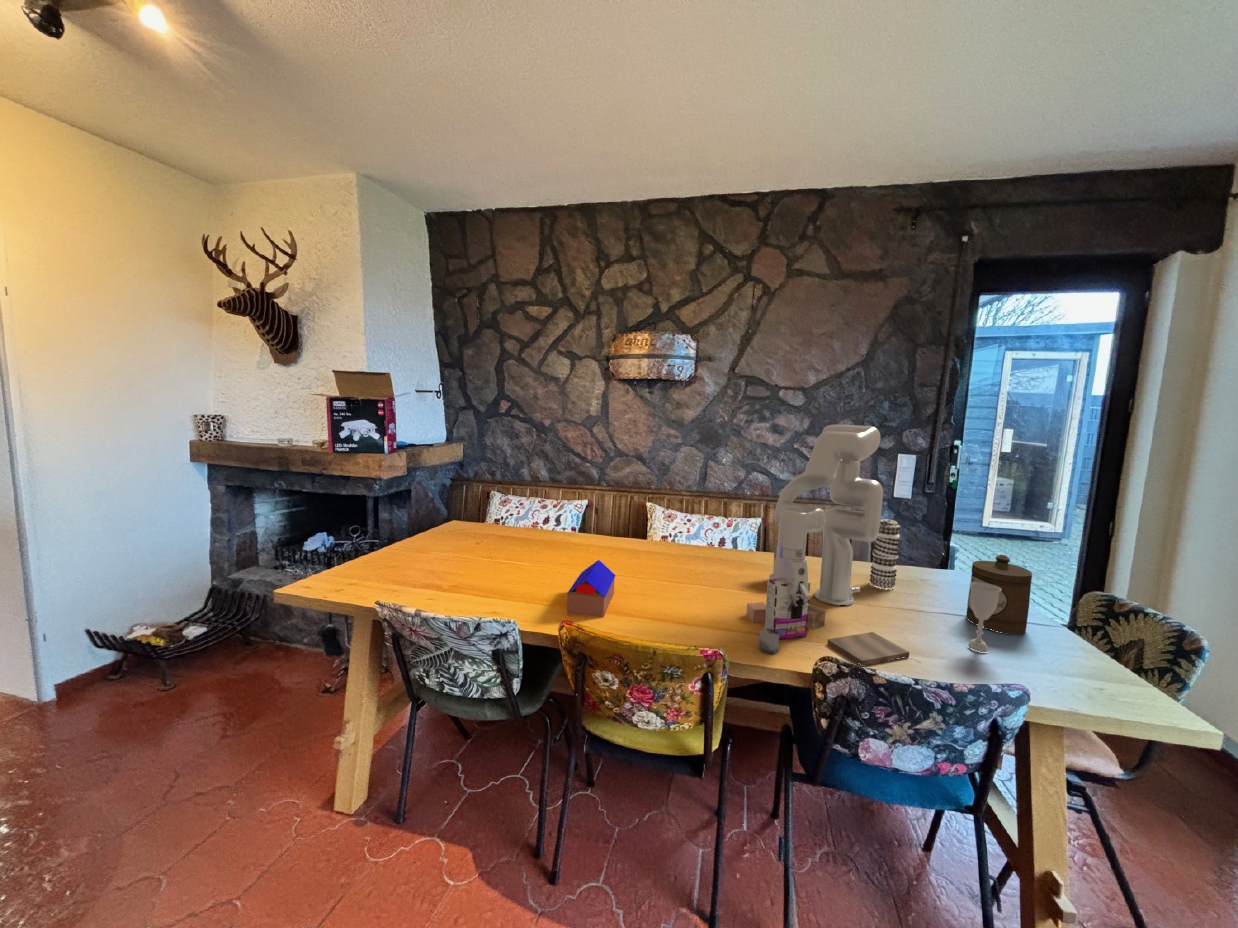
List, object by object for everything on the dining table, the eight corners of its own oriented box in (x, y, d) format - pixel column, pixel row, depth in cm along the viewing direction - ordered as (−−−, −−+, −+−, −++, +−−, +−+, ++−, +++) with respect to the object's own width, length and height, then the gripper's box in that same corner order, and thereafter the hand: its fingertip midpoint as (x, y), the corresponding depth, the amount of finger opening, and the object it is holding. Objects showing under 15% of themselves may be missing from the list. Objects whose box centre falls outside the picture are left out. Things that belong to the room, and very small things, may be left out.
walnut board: (872, 636, 142) (872, 631, 141) (908, 657, 130) (909, 651, 130) (827, 644, 136) (827, 639, 136) (861, 666, 125) (862, 660, 125)
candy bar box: (796, 629, 145) (800, 575, 143) (807, 637, 140) (811, 581, 138) (763, 632, 142) (766, 578, 140) (772, 641, 137) (776, 584, 135)
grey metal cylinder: (770, 644, 135) (771, 627, 135) (782, 653, 131) (783, 635, 130) (754, 646, 134) (756, 629, 133) (766, 655, 129) (767, 637, 129)
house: (615, 593, 169) (616, 560, 167) (604, 618, 149) (605, 581, 148) (581, 590, 171) (581, 558, 169) (566, 614, 151) (566, 578, 150)
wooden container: (954, 613, 159) (962, 548, 157) (997, 613, 160) (1006, 548, 158) (992, 635, 145) (1001, 563, 142) (1039, 635, 146) (1049, 563, 143)
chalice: (981, 643, 140) (988, 582, 137) (1000, 655, 133) (1008, 591, 131) (955, 642, 139) (963, 581, 137) (973, 655, 133) (981, 591, 130)
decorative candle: (871, 589, 179) (878, 522, 176) (865, 580, 188) (871, 516, 185) (899, 592, 177) (906, 524, 174) (891, 583, 186) (898, 518, 183)
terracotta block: (761, 614, 155) (762, 602, 154) (768, 621, 150) (769, 609, 150) (746, 615, 154) (747, 603, 154) (752, 622, 149) (753, 609, 149)
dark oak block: (807, 618, 153) (808, 603, 152) (824, 626, 148) (825, 610, 147) (794, 622, 150) (795, 607, 149) (812, 630, 145) (813, 614, 144)
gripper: (824, 561, 131) (818, 623, 133) (782, 543, 148) (778, 599, 150) (800, 563, 129) (796, 627, 131) (761, 544, 145) (757, 601, 147)
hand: (786, 611), depth 140 cm, fingers open, 7 cm apart
